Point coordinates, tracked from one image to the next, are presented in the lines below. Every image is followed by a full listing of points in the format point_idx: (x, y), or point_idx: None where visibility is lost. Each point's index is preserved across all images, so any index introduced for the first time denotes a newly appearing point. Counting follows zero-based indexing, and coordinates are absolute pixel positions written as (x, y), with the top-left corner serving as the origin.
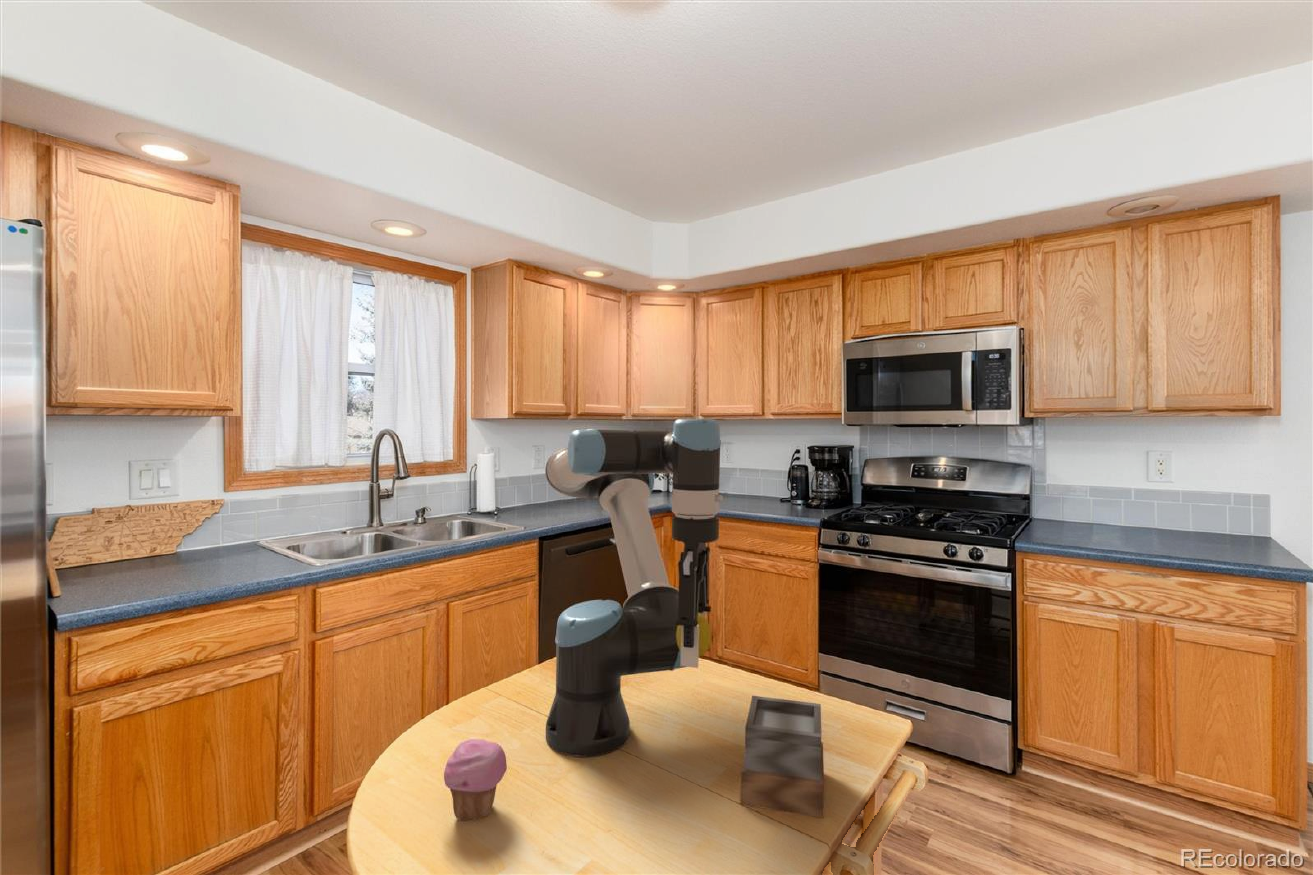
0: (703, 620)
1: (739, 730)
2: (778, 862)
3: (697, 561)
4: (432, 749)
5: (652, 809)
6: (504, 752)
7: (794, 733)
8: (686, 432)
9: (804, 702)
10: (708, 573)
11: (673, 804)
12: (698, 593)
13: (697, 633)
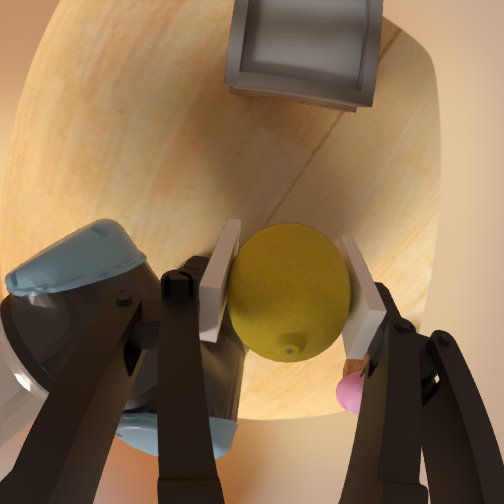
0: (318, 297)
1: (149, 113)
2: (435, 88)
3: None
4: (267, 405)
5: (361, 218)
6: (357, 384)
7: (380, 23)
8: None
9: None
10: (49, 404)
11: (351, 195)
12: (404, 425)
13: (378, 295)
